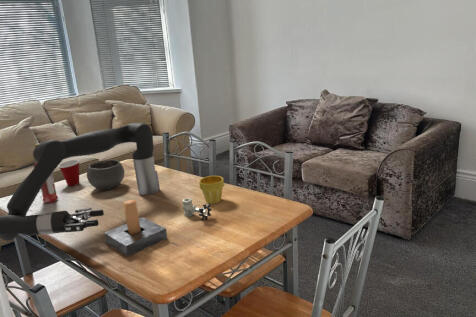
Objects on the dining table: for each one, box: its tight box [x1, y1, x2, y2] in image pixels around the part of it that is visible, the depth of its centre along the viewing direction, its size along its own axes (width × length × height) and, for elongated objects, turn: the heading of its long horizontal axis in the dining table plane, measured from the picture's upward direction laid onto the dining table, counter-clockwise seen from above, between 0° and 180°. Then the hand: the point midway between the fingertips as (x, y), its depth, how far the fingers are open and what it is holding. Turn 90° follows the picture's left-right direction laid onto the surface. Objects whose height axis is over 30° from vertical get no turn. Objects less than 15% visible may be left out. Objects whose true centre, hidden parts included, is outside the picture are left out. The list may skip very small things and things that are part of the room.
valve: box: [182, 198, 213, 221], centre depth 166 cm, size 7×7×12 cm
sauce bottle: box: [33, 142, 59, 204], centre depth 194 cm, size 7×7×28 cm
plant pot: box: [198, 175, 225, 205], centre depth 180 cm, size 10×10×10 cm
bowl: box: [86, 159, 125, 191], centre depth 208 cm, size 18×18×13 cm
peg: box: [122, 199, 141, 236], centre depth 149 cm, size 4×4×15 cm
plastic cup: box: [57, 159, 81, 187], centre depth 217 cm, size 11×11×12 cm
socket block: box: [103, 216, 168, 257], centre depth 151 cm, size 16×16×4 cm
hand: (100, 217), depth 147 cm, fingers open, 8 cm apart
